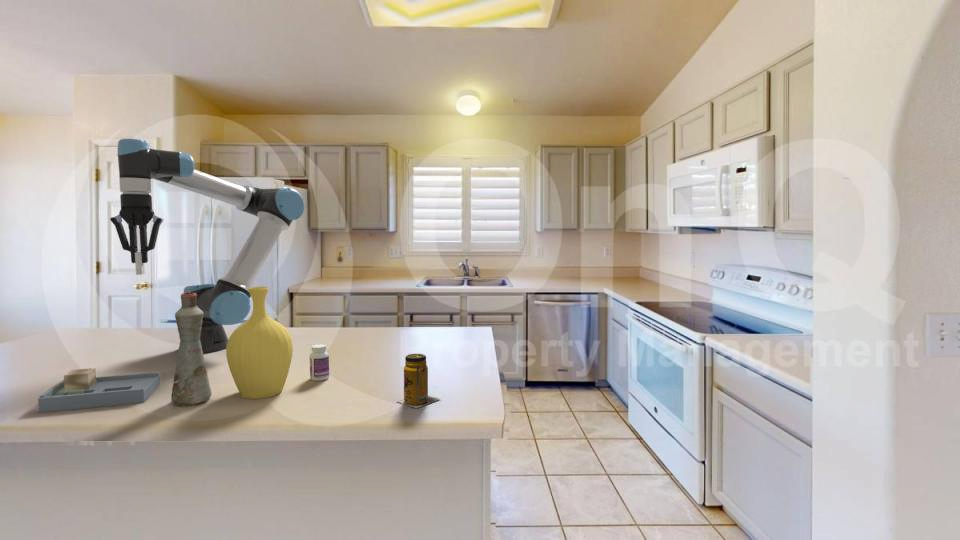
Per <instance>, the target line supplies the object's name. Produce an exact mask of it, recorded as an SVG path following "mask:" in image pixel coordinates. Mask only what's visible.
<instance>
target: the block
mask: <svg viewBox="0 0 960 540" xmlns="http://www.w3.org/2000/svg"><path fill="white" fill-rule="evenodd" d="M96 369H97V368H95V367H92V368H81V369H77V368H76V369H71V370H69V371H68V372H67V373H65V374H63V380H64V387H65V391H71V390H82V389H89V388H91V387H92V386H93V385H94V384H96V377H97V373H96V372H97V371H96Z"/></svg>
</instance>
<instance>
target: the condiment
mask: <svg viewBox="0 0 960 540" xmlns="http://www.w3.org/2000/svg"><path fill="white" fill-rule="evenodd" d="M404 358H405V362H404V363H405V364H404V366H403V399H402V400H397V403H400V404H401V405H402V404H403V405H404V406H407V407H411V408H415V409H418V408H422V407H423V406H427V405H430V404H431V403H434V402H436V401H439V400H440V398H437V397H434V396H430V395H429V391H428V390H429V388H428V387H429V384H428V382H429V370H428V369H429V368H428V366H427V356H426V355H425V354H423V353H411V354H410V353H409V354H407V355H406V356H405V357H404Z"/></svg>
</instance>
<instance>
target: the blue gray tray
mask: <svg viewBox="0 0 960 540" xmlns="http://www.w3.org/2000/svg"><path fill="white" fill-rule="evenodd" d="M160 381H161V380H160V372H159V371H155V372H141V373H131V374H129V373H128V374H119V375H116V374H115V375H107V376H96V384H94V385H93V386H92V387H91V388H89V389H82V390H71V391H65V387H64V379H63V380H61V381H59V382H58V383H56V384H55V385H54V386H52V387H51V388H49V389H47V390H46V391H45V392H43V393H42V394H40V395H39V397H38V398H37V401H38V412H39V413H40V414H41V413H42V414H43V413H50V412H51V413H52V412H61V411H71V410H80V409H82V410H83V409H90V408H99V407H101V408H102V407H111V406H122V405H131V404H140V403H141V404H142V403H145V402H146V401H147V400H148V398H149V397H150V396H151V395H152V394H153V393H154V391H155V390H156V389H157V388H158V387H159V385H160V383H161V382H160Z"/></svg>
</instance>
